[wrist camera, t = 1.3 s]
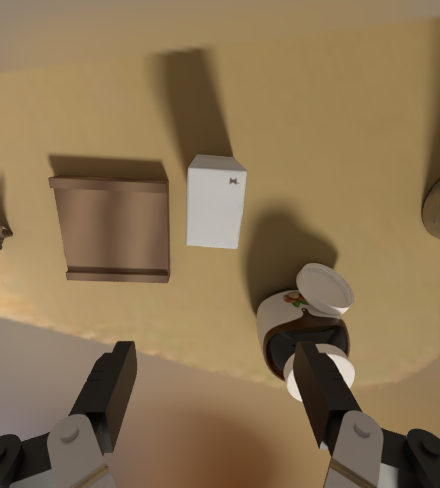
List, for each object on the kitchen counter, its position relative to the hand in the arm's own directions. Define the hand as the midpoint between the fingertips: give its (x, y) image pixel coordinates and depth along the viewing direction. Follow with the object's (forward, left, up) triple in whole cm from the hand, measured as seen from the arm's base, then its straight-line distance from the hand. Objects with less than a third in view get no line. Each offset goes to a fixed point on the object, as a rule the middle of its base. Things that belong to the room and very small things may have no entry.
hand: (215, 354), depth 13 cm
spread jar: (-12, +10, -21) cm, 26 cm away
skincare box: (0, -5, -21) cm, 21 cm away
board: (+11, +1, -20) cm, 23 cm away
